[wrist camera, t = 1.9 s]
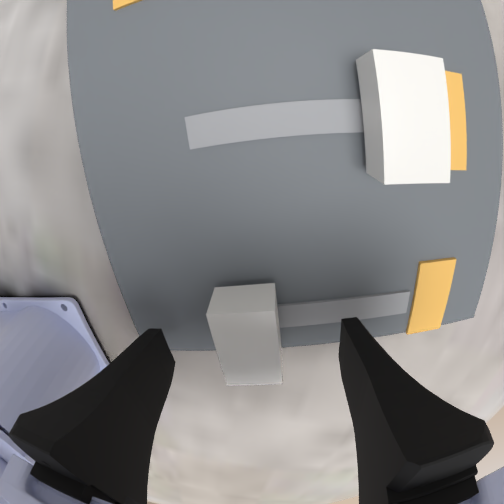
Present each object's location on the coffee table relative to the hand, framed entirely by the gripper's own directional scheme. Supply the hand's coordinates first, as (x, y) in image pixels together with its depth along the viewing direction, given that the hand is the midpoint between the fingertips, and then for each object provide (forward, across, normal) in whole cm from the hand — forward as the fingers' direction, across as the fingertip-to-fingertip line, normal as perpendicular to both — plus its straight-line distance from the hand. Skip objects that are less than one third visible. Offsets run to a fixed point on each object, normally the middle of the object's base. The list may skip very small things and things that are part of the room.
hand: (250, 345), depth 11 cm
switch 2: (+1, -6, -8) cm, 10 cm away
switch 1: (+1, 0, 0) cm, 1 cm away
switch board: (+3, -3, -8) cm, 9 cm away
